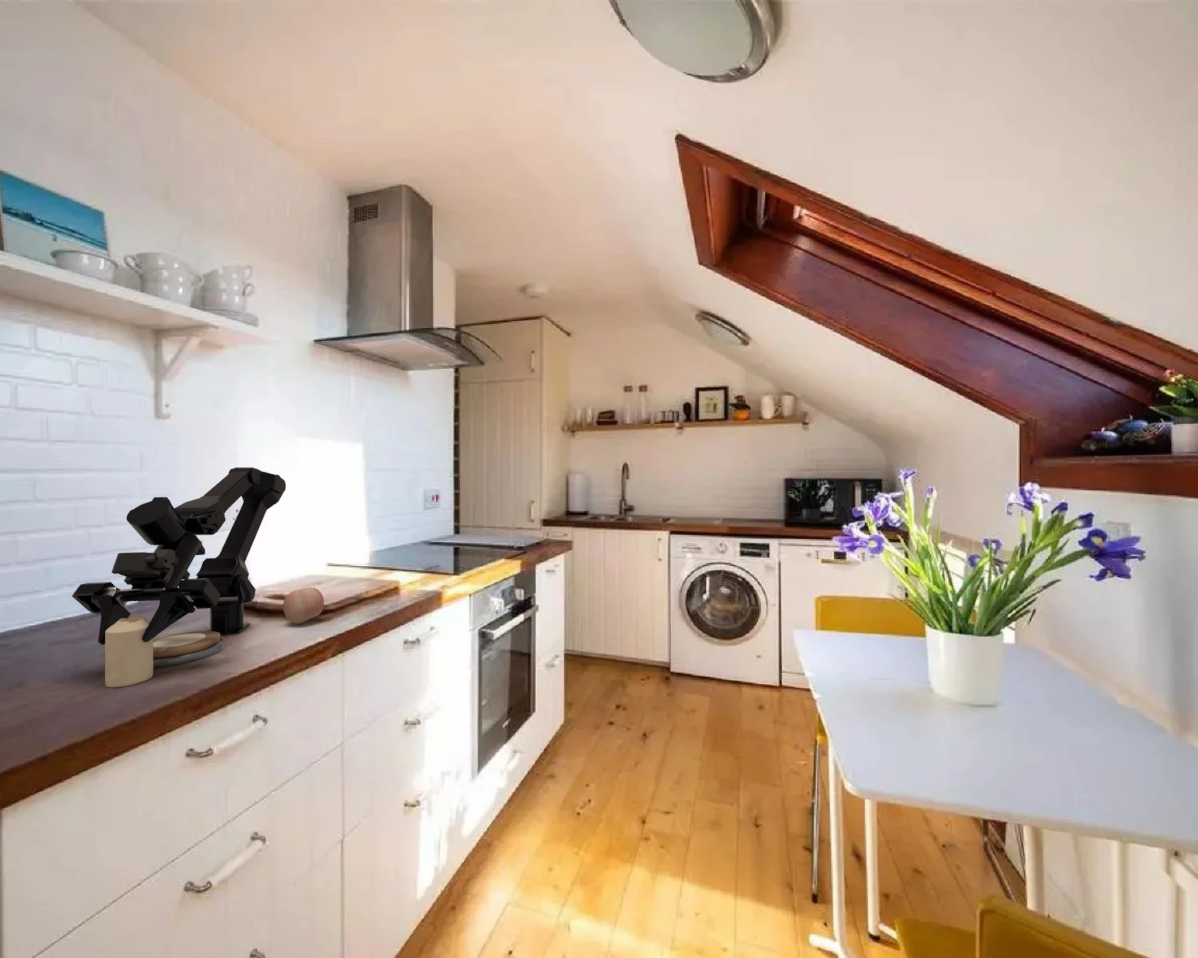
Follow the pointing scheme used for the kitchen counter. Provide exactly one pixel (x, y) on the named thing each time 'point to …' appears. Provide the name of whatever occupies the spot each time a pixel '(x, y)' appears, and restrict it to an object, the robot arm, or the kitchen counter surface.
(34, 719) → the kitchen counter surface
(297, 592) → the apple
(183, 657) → the turntable base
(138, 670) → the candle
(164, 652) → the turntable
